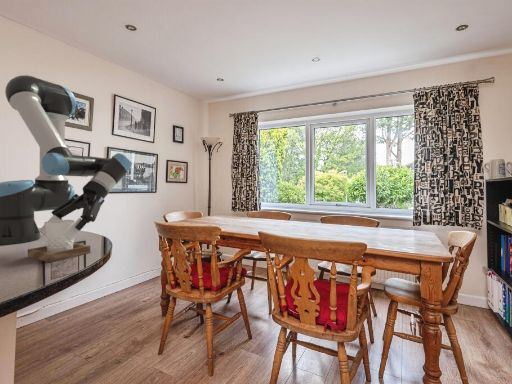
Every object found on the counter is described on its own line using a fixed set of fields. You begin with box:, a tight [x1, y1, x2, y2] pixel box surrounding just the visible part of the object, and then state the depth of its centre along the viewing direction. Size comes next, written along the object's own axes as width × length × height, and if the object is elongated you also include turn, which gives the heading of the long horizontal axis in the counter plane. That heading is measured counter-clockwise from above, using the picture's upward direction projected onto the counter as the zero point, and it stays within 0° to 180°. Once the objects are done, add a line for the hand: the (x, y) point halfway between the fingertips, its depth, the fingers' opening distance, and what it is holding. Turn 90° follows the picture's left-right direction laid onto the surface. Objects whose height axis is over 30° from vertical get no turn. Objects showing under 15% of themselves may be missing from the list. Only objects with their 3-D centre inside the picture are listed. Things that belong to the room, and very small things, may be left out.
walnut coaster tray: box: [27, 242, 91, 264], centre depth 87 cm, size 12×12×2 cm
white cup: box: [43, 219, 76, 253], centre depth 87 cm, size 8×8×10 cm
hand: (54, 235), depth 86 cm, fingers open, 13 cm apart
